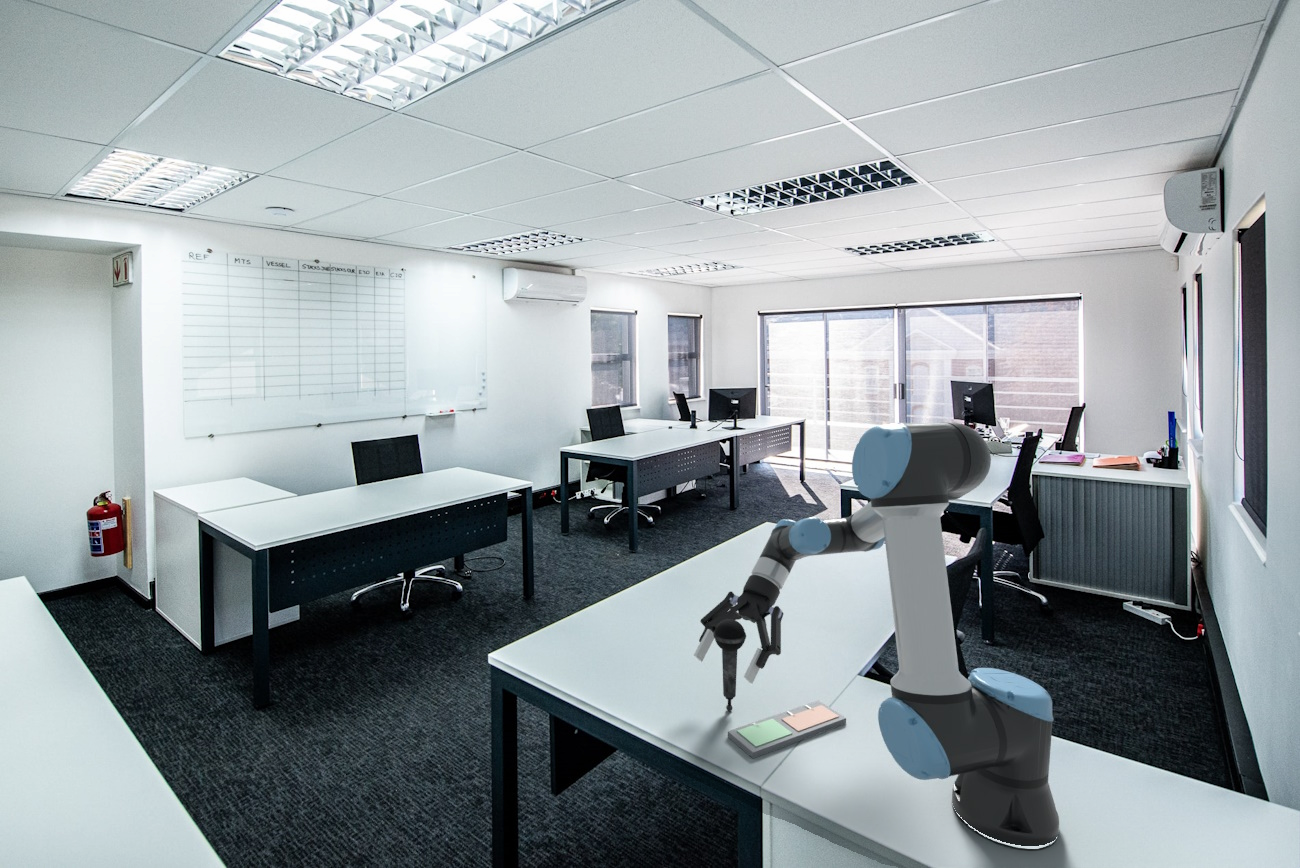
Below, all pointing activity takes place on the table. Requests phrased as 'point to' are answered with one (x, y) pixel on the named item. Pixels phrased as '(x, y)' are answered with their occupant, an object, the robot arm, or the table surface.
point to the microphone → (729, 654)
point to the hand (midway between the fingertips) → (721, 669)
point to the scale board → (785, 728)
